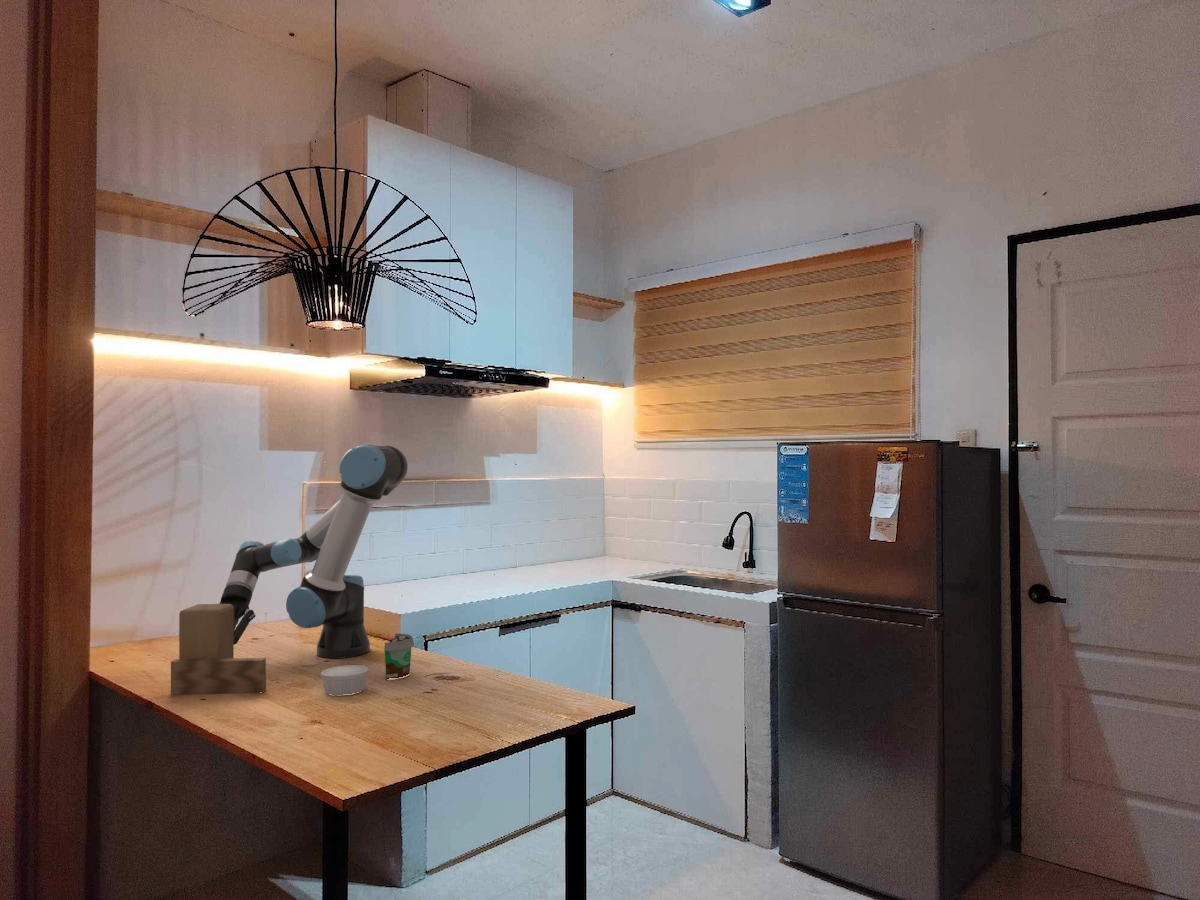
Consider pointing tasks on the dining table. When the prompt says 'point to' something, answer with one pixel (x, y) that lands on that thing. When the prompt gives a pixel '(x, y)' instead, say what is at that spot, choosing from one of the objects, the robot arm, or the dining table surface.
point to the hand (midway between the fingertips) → (212, 666)
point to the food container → (398, 656)
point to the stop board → (218, 676)
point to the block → (206, 632)
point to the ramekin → (344, 679)
